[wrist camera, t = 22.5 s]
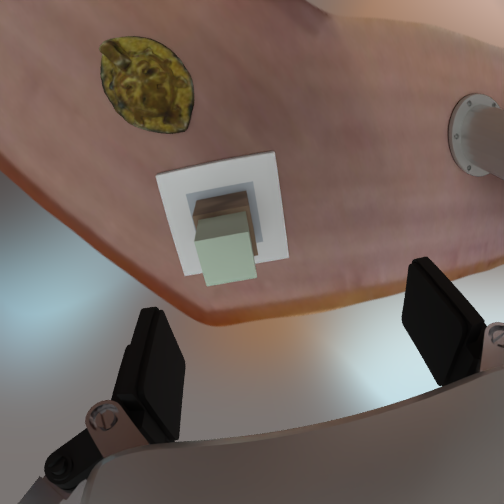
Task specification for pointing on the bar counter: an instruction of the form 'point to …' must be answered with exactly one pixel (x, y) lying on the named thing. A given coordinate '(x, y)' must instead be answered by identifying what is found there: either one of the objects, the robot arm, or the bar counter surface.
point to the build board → (221, 183)
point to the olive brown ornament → (147, 84)
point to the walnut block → (225, 210)
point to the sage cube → (225, 249)
